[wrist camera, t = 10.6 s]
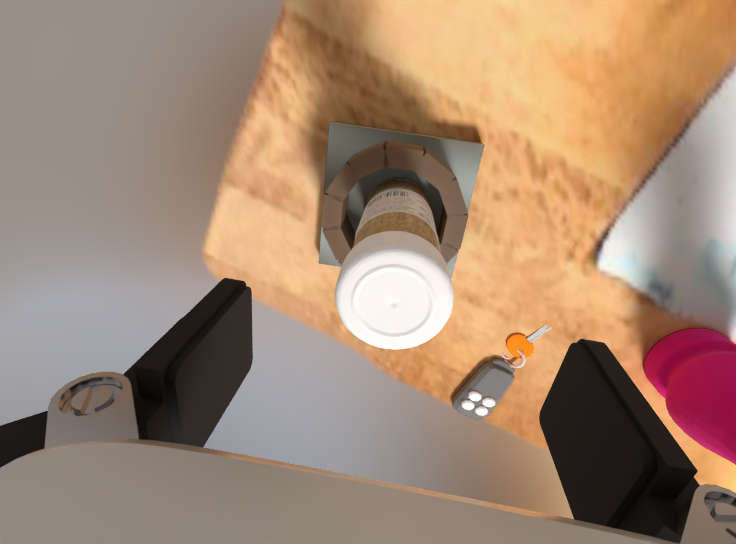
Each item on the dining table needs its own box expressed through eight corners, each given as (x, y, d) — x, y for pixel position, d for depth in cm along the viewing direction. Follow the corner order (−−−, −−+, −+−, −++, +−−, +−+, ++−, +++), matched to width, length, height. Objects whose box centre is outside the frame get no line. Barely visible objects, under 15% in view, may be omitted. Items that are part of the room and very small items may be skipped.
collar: (332, 121, 25) (319, 125, 22) (481, 142, 25) (494, 151, 21) (321, 258, 30) (309, 280, 26) (448, 277, 29) (454, 303, 26)
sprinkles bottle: (367, 239, 27) (336, 352, 15) (365, 175, 26) (328, 246, 13) (430, 239, 27) (450, 356, 15) (434, 174, 25) (460, 248, 13)
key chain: (483, 414, 35) (486, 427, 34) (448, 399, 35) (450, 411, 34) (573, 307, 30) (580, 317, 29) (532, 288, 30) (538, 297, 28)
